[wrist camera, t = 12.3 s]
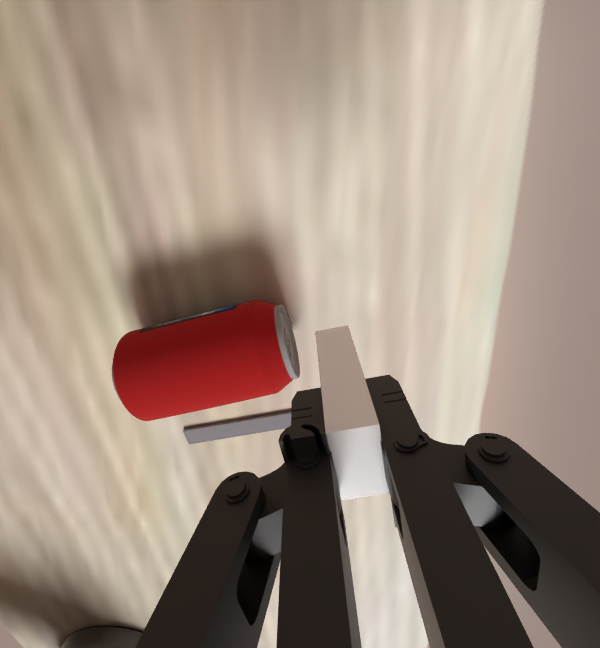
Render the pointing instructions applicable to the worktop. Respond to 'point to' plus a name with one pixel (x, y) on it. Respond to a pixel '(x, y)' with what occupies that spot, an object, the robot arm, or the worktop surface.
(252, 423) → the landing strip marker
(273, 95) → the worktop surface
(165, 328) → the beverage can
